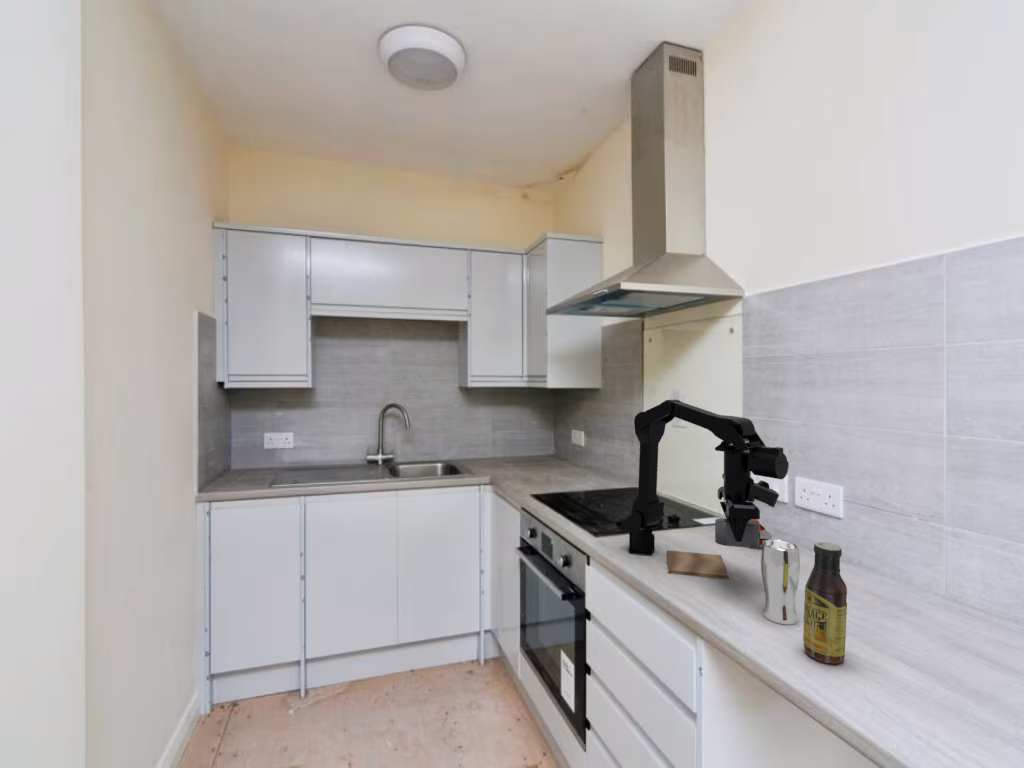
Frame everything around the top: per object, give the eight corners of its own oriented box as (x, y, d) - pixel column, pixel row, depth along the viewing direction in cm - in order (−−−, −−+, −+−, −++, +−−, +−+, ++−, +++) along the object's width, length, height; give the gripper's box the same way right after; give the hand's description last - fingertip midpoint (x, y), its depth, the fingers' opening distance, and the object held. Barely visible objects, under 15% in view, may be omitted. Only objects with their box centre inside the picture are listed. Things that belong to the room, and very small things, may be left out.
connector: (716, 544, 111) (716, 523, 111) (714, 538, 115) (714, 518, 115) (772, 549, 108) (773, 527, 108) (768, 543, 112) (768, 521, 112)
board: (668, 573, 120) (668, 569, 120) (666, 553, 133) (666, 550, 133) (729, 579, 116) (729, 576, 116) (720, 558, 130) (720, 555, 130)
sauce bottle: (795, 646, 87) (795, 538, 87) (827, 644, 88) (828, 537, 87) (821, 668, 81) (822, 551, 80) (855, 666, 81) (856, 550, 81)
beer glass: (795, 612, 100) (795, 540, 100) (803, 628, 93) (803, 552, 93) (758, 606, 102) (758, 537, 102) (763, 622, 96) (764, 548, 95)
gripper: (786, 482, 100) (786, 556, 101) (765, 466, 118) (765, 528, 119) (729, 479, 103) (728, 551, 104) (717, 464, 121) (717, 525, 122)
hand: (736, 538), depth 112 cm, fingers closed on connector, 4 cm apart
